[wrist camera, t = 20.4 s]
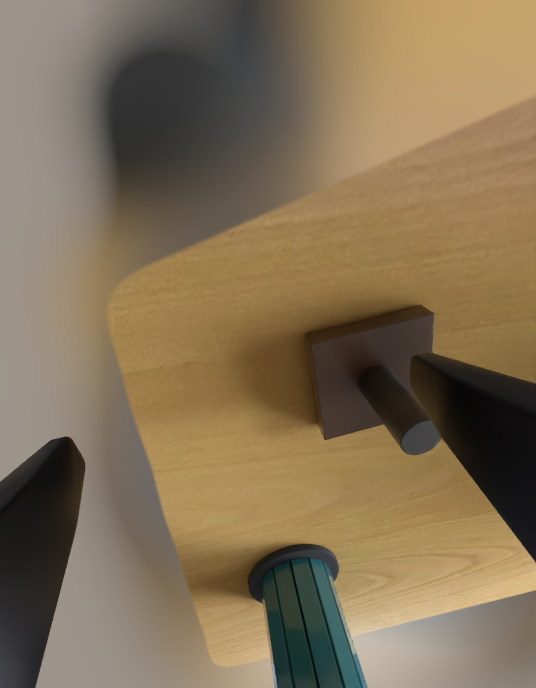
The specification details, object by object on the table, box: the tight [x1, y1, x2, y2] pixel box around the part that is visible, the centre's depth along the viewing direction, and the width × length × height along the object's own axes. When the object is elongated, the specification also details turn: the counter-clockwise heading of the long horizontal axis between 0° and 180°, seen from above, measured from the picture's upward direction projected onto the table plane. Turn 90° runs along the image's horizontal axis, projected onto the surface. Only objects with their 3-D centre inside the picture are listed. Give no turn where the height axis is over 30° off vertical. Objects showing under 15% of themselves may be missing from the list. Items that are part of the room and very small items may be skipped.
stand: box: [305, 305, 442, 455], centre depth 21 cm, size 8×8×7 cm
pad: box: [248, 544, 339, 603], centre depth 34 cm, size 9×9×1 cm
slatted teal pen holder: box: [261, 558, 368, 688], centre depth 29 cm, size 7×7×10 cm
